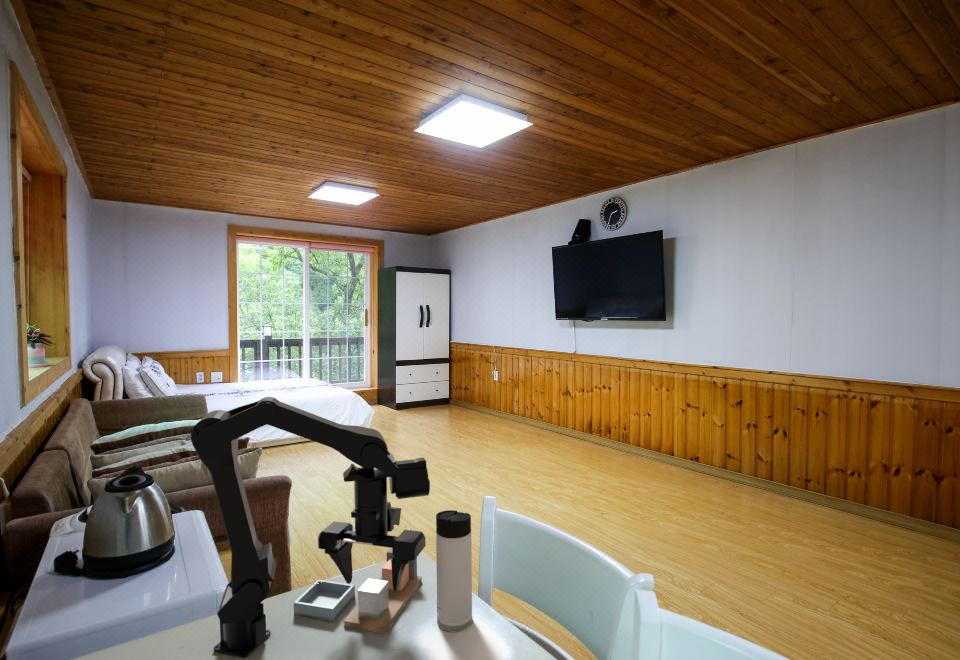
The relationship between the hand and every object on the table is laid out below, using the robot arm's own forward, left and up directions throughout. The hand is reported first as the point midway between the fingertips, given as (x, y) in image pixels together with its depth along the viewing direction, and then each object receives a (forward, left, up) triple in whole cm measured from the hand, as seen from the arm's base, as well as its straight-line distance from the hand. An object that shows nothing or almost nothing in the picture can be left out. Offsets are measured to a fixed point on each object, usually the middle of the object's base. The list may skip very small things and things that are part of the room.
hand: (372, 585), depth 92 cm
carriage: (0, 0, -5) cm, 5 cm away
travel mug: (+15, +3, -6) cm, 16 cm away
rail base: (0, +5, -6) cm, 8 cm away
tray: (-10, +1, -6) cm, 12 cm away
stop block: (0, +10, -5) cm, 11 cm away
